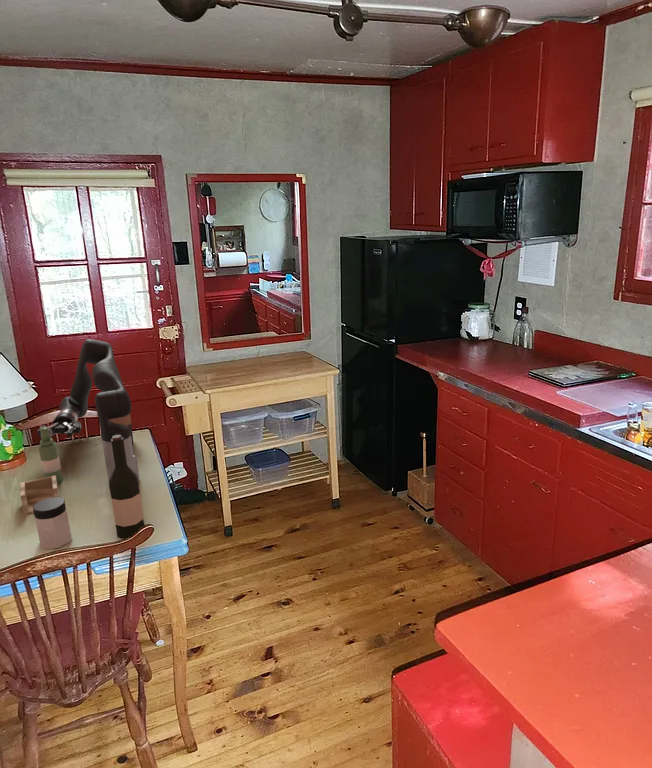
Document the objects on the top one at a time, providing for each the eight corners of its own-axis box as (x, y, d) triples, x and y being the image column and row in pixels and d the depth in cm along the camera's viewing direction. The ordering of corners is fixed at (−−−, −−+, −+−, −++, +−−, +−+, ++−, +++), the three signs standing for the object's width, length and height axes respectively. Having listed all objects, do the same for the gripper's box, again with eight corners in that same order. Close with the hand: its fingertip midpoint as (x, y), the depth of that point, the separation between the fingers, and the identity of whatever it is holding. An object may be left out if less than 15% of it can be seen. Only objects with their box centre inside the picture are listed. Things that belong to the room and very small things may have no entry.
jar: (33, 550, 158) (25, 512, 155) (45, 534, 166) (38, 497, 163) (66, 548, 159) (59, 510, 155) (77, 532, 167) (70, 496, 163)
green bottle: (66, 479, 201) (57, 426, 195) (54, 486, 196) (44, 432, 190) (53, 477, 203) (43, 424, 197) (41, 484, 198) (30, 430, 192)
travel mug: (129, 438, 235) (122, 392, 230) (137, 443, 230) (130, 396, 224) (111, 444, 231) (103, 397, 225) (118, 449, 225) (111, 401, 219)
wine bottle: (140, 539, 162) (126, 442, 153) (111, 539, 162) (95, 442, 153) (149, 523, 170) (136, 430, 161) (122, 524, 170) (107, 431, 161)
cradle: (24, 500, 186) (20, 482, 185) (58, 493, 191) (55, 475, 189) (24, 514, 178) (20, 496, 176) (60, 506, 182) (57, 487, 180)
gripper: (44, 413, 219) (32, 429, 204) (83, 410, 222) (74, 425, 207) (47, 431, 221) (36, 448, 206) (86, 428, 224) (78, 444, 209)
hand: (55, 436), depth 206 cm, fingers open, 8 cm apart
